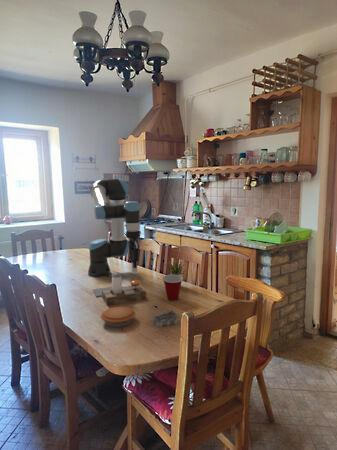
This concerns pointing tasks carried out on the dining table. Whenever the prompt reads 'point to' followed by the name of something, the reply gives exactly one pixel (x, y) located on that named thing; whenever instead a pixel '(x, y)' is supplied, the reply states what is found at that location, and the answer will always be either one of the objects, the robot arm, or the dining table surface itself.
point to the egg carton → (165, 318)
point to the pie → (118, 316)
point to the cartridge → (116, 283)
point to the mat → (100, 291)
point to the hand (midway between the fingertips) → (134, 273)
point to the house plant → (176, 269)
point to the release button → (135, 284)
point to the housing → (124, 295)
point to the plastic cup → (172, 286)
